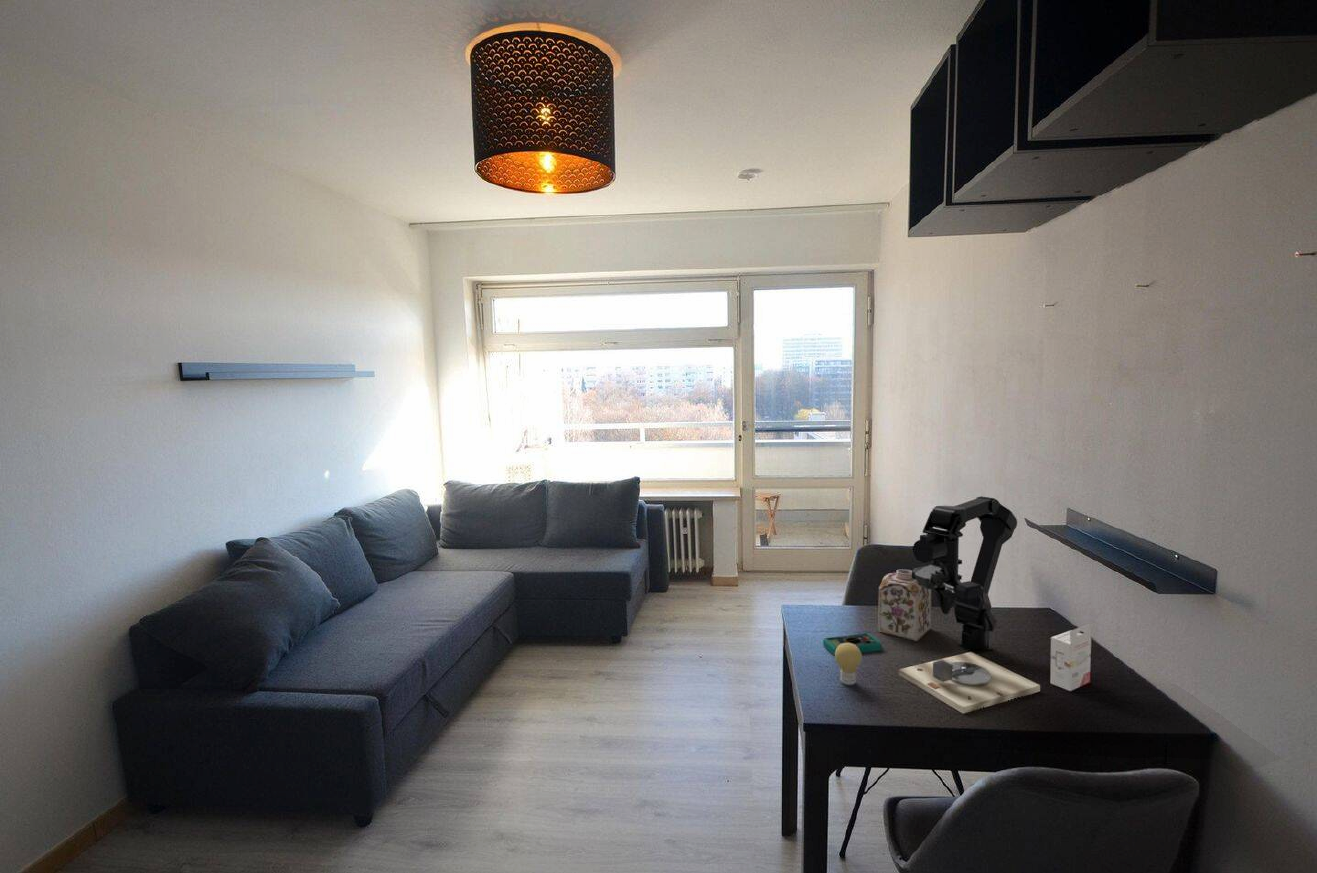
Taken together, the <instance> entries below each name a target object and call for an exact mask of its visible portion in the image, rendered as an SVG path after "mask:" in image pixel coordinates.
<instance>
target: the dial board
mask: <svg viewBox="0 0 1317 873" xmlns="http://www.w3.org/2000/svg"><path fill="white" fill-rule="evenodd" d="M941 660H943V661H945V662H947V663H953V662H967V663H972V664H976V665H979V666H981V667H983V668H985V669H987V670H988V671H989V672H990V674H991V678H990V682H989V683H988V684H986V685H982V686H970V685H964V684H960V683H957V682H955V681H953V680H948V681H945V682H942V681H940V680H938V679H936V678H935V677H933V662H937V661H941ZM898 675H899V677H901V678H903V679H905V680H906V681H908V682H910V683H911V684H913V685H915V686H917V687H918V688H920V689H921V690H923V691H925V692H926V693H928V694H930V695H931V696H933V697H934V698H936V699H938V700H940V701H942V702H943V703H944V704H946V705H947V706H949V707H951V708H953V709H955V710H956V711H958V712H960V713H961V714H962V715H963V714H966V713H970V712H974V711H977V710H980V708H981V709H984V708H987V707H990V706H994V705H998V704H1001V703H1005V702H1008V700H1009V701H1011V699H1012V700H1015V699H1014V698H1016V699H1018V698H1017V697H1019V698H1022V697H1026V696H1030V695H1033V694H1035V693H1038V692H1041V684H1039V683H1036V682H1035V681H1032V680H1030V679H1028V678H1025V677H1024V676H1021V675H1020V674H1018V673H1015V672H1013V671H1011V670H1009V669H1007V668H1006V667H1004V666H1001V665H999V664H997V663H996V662H993V661H991V660H989V659H987V658H984V657H982V656H980V655H979V654H977V653H974V652H972V651H969V652H965V653H961V654H957V655H953V656H949V657H948V656H947V657H944V658H939V659H936V660H932V661H931V660H930V661H928V662H924V663H920V664H915V665H912V666H908V667H904V668H900V669H898ZM1021 696H1022V697H1021ZM983 707H984V708H983ZM973 710H974V711H973Z"/></svg>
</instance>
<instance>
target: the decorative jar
mask: <svg viewBox="0 0 1317 873" xmlns="http://www.w3.org/2000/svg"><path fill="white" fill-rule="evenodd" d="M912 571H913V570H910V569H906V568H905V569H897V570H896V572H891V573H887V574H885V575H884V576H883V578H882V580H881V582H880V585H879V587H878V607H877V608H878V609H877V610H878V616H877V617H878V618H877V619H878V624H877V625H878V631H879V633H883V634H888V635H890V634H891V636H894V635H895V637H899V638H902V637H903V639H906V638H907V639H906V640H911V641H914V642H918V641H919V640H920V639H921V638H922V637H923V636H924V635H925V634H926V633H927V632H928V631H930V629H931V624H932V589H927V588H926V587H924V586H920V585H918V582H917V580H915V579H912Z"/></svg>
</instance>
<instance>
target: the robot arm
mask: <svg viewBox="0 0 1317 873" xmlns="http://www.w3.org/2000/svg"><path fill="white" fill-rule="evenodd" d="M974 519H978V520H979V522H980V525H979V529H980V531H981V536H982V541H981V545H980V549H979V551H978V555H977V559H976V563H975V565H974V568H973V572H972V575H971V579H970V580H967V581H962V579H963V575H961V574H959V565H962V564H963V560H962V559H961V558H960V559H959V549H960V548H959V547H960V546H959V542H960V541H959V540H960V538H961V537H964V534H963V532H961V530H962V529H964V528H965V527H966V524H967V522H969V521H971V520H974ZM1017 525H1018V521H1017V517H1016V516H1015V515H1014V513H1013V512H1012V511H1011V510H1010V509H1009V508H1007V507H1006V506H1004V505H1003V504H1001V503H1000V501H999V500H998V499H996V498H994V497H988V496H982V495H981V496H977V497H976V498H975V499H972V500H969V501H965V502H963V503H959V504H957V505H936V506H934V507H933V508H932V510H931V511H930V513H929V515H928V518H927V520H926V522H925V525H924V527H923V529H922V534H920V535H919V539H918V540H916V541H915V542H914V544H913V546H912V554H913V555H914V557H915V559H916V560H917V561H918V562H920V563H922V564H924V563H925V564H927V563H929V564H928V565H925V566H918V567H914V568H913V570H911V571H912V579H915V580H917V582H918V585H920V586H924V587H926V588H927V589H931V591H932V592H934V593H935V596H936V598H937V601H938V604H939V607H940V609H941V612H942V614H944V615H948V614H949V613H950V611H951V609H952V608H953V606H954V608H953V612H954V617H955V620H956V623H957V624H961V625H962V631H961V641H959V642H957V645H958V646H960V647H962V648H964V649H966V650H969V652H972V653H974V654H979V653H984V652H988V651H992V650H994V646H992V645H990V644H989V642H990V641H989V640H990V636H989V635H990V632H994V630H995V629H996V626H997V621H998V620H997V619H996V618H995V617H994V615H993V613H992V612H991V610H992V603H991V600H990V596H989V591H990V588H991V584H992V582H993V578H994V576H995V575H994V574H995V570H996V567H997V565H998V561H999V558H1000V553H1001V550H1002V547H1003V545H1004V544H1005V543H1007V541H1008V540H1009V539H1011V538H1012V537H1013V534H1014V532H1015V530H1016V529H1017V527H1018V526H1017ZM960 580H961V581H962V582H960Z"/></svg>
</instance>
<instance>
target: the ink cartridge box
mask: <svg viewBox="0 0 1317 873" xmlns="http://www.w3.org/2000/svg"><path fill="white" fill-rule="evenodd" d="M1081 632H1083V633H1081ZM1091 652H1092V634H1091V625H1090V624H1086V625H1084V626H1080V627H1077V628H1074V629H1073V630H1072V629H1071V630H1067V631H1065V632H1062V633H1060V634H1057V635H1054V636H1051V637H1050V684H1051V685H1053V686H1056V687H1059V688H1062V689H1063V690H1066V691H1069V692H1072V691H1074V690H1076V689H1078V688H1080V687H1082V686H1085V685H1087V684H1089V683H1090V682H1091V659H1092V657H1091V654H1092V653H1091Z"/></svg>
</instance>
